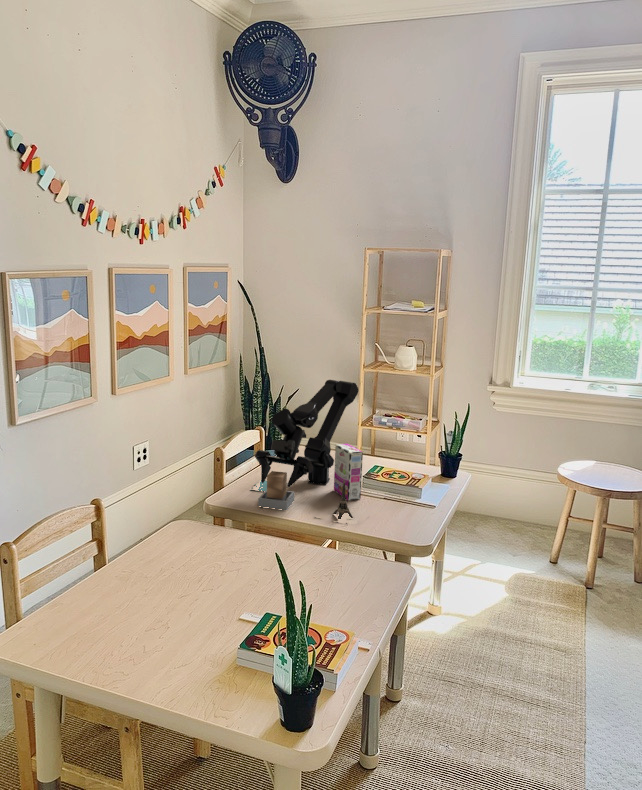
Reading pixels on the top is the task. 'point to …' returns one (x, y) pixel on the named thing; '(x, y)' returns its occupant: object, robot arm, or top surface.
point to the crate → (276, 501)
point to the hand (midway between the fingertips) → (275, 484)
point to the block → (277, 485)
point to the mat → (263, 486)
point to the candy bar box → (348, 471)
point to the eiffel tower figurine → (343, 505)
